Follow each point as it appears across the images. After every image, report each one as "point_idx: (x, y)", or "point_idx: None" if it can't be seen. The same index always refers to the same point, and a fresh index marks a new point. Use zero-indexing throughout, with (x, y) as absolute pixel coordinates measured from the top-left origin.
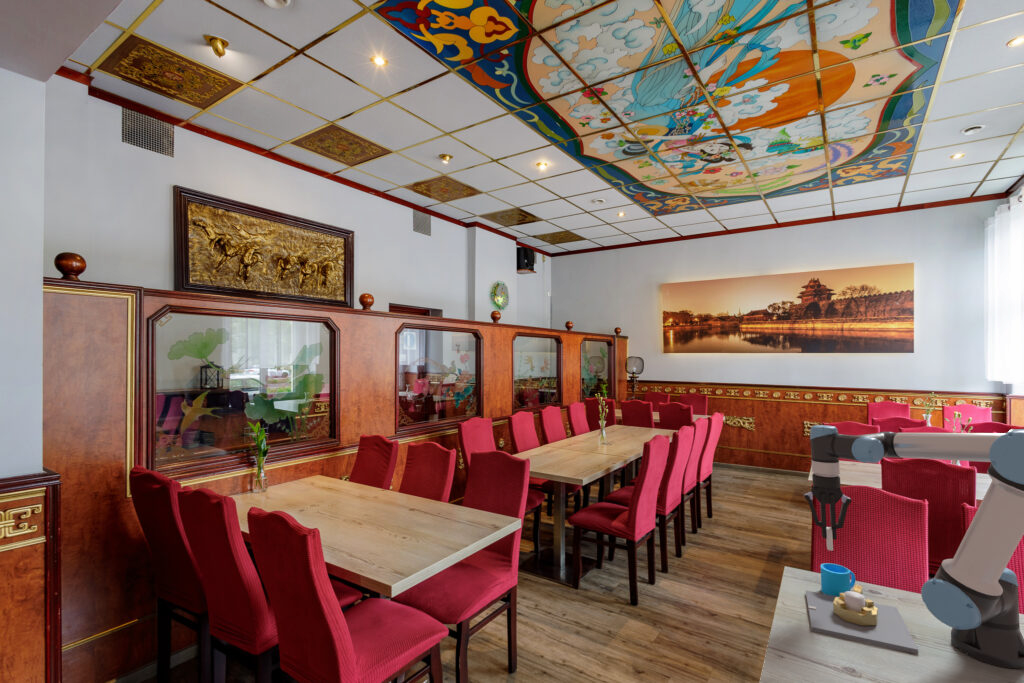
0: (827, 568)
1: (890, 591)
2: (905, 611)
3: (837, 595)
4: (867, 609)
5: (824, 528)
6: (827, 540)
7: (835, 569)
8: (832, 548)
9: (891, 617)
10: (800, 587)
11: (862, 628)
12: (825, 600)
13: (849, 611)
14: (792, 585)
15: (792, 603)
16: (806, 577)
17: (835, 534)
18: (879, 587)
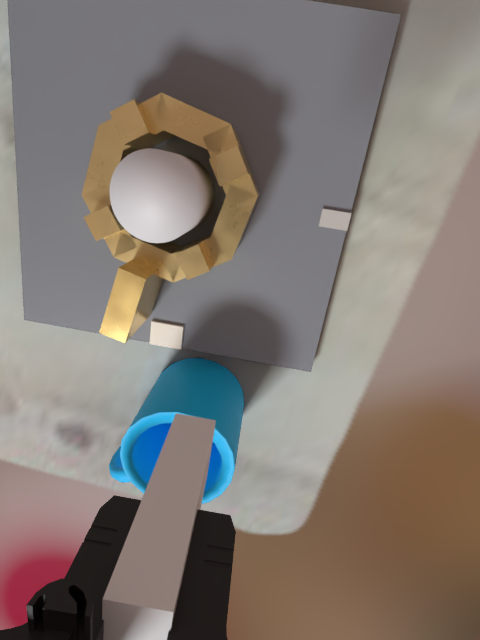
0: None
1: (28, 448)
2: (7, 321)
3: (201, 364)
4: (125, 116)
5: (197, 626)
6: (199, 481)
7: None
8: (176, 424)
9: (53, 230)
10: (312, 413)
11: (179, 84)
12: (258, 305)
13: (208, 115)
14: (337, 422)
15: (389, 273)
16: (267, 490)
17: (92, 547)
18: (54, 467)
